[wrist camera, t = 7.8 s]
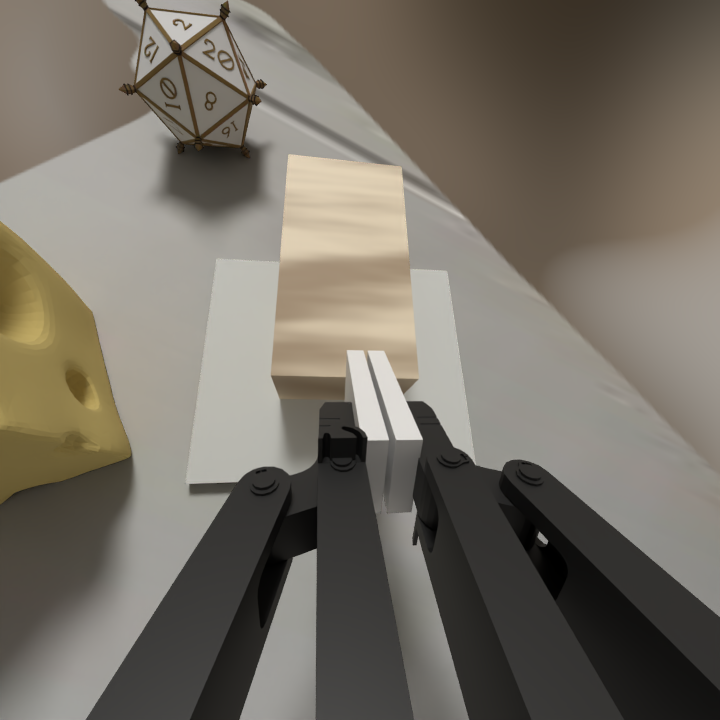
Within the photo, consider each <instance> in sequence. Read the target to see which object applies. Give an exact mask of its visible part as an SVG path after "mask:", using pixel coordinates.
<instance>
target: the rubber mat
mask: <svg viewBox="0 0 720 720" xmlns="http://www.w3.org/2000/svg"><path fill="white" fill-rule="evenodd" d="M279 265H280V262H271V261H252V260H234V259H217V260H216V267H215V274H214V281H213V288H212V295H211V303H210V310H209V317H208V324H207V331H206V338H205V346H204V353H203V360H202V367H201V374H200V381H199V389H198V396H197V403H196V410H195V417H194V424H193V431H192V439H191V446H190V453H189V460H188V467H187V474H186V482H185V484H200V483H229V482H238V481H239V480H240V479H241V478H242V477H243V476H244V475H245V474H246V473H248V472H250V471H252V470H253V469H256V468H260V467H272V466H274V467H277V468H280V469H283V470H284V471H285V472H287V473H288V474H289V475H293V474H297V473H300V472H302V471H305V470H306V469H308V468H310V467H311V466H312V465H313V464H314V463H315V461H316V460H317V457H318V437H319V409H320V408H321V407H322V406H323V404H324V403H325V402H344V400H314V399H280V398H279V396H278V393H277V391H276V388H275V385H274V383H273V380H272V378H271V364H272V352H273V339H274V327H275V315H276V302H277V290H278V277H279ZM410 275H411V287H412V299H413V311H414V323H415V335H416V347H417V359H418V371H419V379H418V380H417V381H416V382H415V383H414V384H413V385H412V386H411V387H410V388H409V389H408V390H407V391H406V392H405V393H404V394H403V395H404V397H405V400H406V401H423V402H425V403H426V404H427V405H429V406H430V407H431V408H432V409H433V411H434V412H435V414H436V416H437V418H438V420H439V421H440V423H441V425H442V427H443V429H444V430H445V432H446V434H447V436H448V438H449V439H450V441H451V443H452V445H453V447H455V448H457V449H460V450H462V451H463V452H465V453H466V454H468V455H469V457H470V458H471V459H472V460H473V462H474V464H475V465H476V462H475V456H474V449H473V442H472V435H471V429H470V422H469V415H468V408H467V402H466V395H465V388H464V381H463V375H462V368H461V361H460V354H459V348H458V341H457V334H456V327H455V321H454V314H453V307H452V300H451V294H450V287H449V280H448V273H447V271H440V270H421V269H410Z"/></svg>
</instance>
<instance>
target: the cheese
mask: <svg viewBox="0 0 720 720" xmlns="http://www.w3.org/2000/svg"><path fill="white" fill-rule="evenodd" d="M130 456H131V448H130V444H129V441H128V438H127V435H126V433H125V430H124V428H123V425H122V423H121V420H120V418H119V415H118V412H117V409H116V406H115V402H114V399H113V396H112V392H111V387H110V383H109V380H108V376H107V372H106V368H105V364H104V360H103V356H102V352H101V348H100V344H99V339H98V335H97V330H96V326H95V321H94V317H93V314H92V311H91V310H90V309H89V308H88V307H87V306H86V305H85V303H84V302H83V301H82V300H81V299H80V297H79V296H78V295H77V294H76V293H75V291H74V290H73V289H72V288H71V287H70V286H69V285H68V284H67V283H66V281H65V280H64V279H63V278H62V277H61V276H60V275H59V274H58V273H57V272H56V271H55V270H54V269H53V268H52V267H51V266H50V265H49V264H48V263H47V262H46V261H45V260H44V259H42V258H41V257H40V256H39V255H38V254H37V253H36V252H35V251H34V250H33V249H32V248H31V247H30V246H29V245H28V244H27V243H26V242H25V241H24V240H23V239H21V238H20V237H19V236H18V235H17V234H15V233H14V232H13V231H12V230H11V229H9V228H8V227H7V226H6V225H4V224H3V223H2V222H1V221H0V504H2V503H3V502H4V501H5V500H7V499H8V498H9V497H10V496H12V495H13V493H16V492H18V491H21V490H24V489H27V488H30V487H34V486H38V485H43V484H48V483H54V482H60V481H63V480H66V479H69V478H72V477H75V476H78V475H80V474H83V473H86V472H89V471H91V470H94V469H98V468H101V467H104V466H107V465H110V464H113V463H116V462H119V461H122V460H124V459H127V458H129V457H130Z"/></svg>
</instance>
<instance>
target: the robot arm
mask: <svg viewBox="0 0 720 720" xmlns="http://www.w3.org/2000/svg"><path fill="white" fill-rule="evenodd" d="M383 496H384V500H385V505H386V510H387V513H399V512H411V511H412V504H413V499H414V502H415V505H416V508H417V515H416V521H415V527H414V533H413V538H412V539H413V545H417V539H418V536H419V540H420V544H421V547H422V551H423V554H424V558H425V562H426V565H427V569H428V572H429V576H430V580H431V583H432V587H433V590H434V594H435V598H436V601H437V605H438V608H439V612H440V616H441V619H442V623H443V626H444V630H445V634H446V637H447V641H448V644H449V648H450V652H451V655H452V659H453V662H454V666H455V670H456V673H457V677H458V680H459V684H460V688H461V691H462V695H463V698H464V702H465V706H466V709H467V713H468V716H469V720H720V617H719V616H718V615H716V614H715V613H714V612H713V611H712V610H711V609H709V608H708V607H707V606H706V605H705V604H703V603H702V602H701V601H700V600H699V599H698V598H696V597H695V596H694V595H693V594H692V593H690V592H689V591H688V590H687V589H686V588H685V587H683V586H682V585H681V584H680V583H679V582H678V581H676V580H675V579H674V578H673V577H672V576H670V575H669V574H668V573H667V572H666V571H665V570H663V569H662V568H661V567H660V566H659V565H657V564H656V563H655V562H654V561H653V560H652V559H650V558H649V557H648V556H647V555H646V554H644V553H643V552H642V551H641V550H640V549H639V548H637V547H636V546H635V545H634V544H633V543H631V542H630V541H629V540H628V539H627V538H626V537H624V536H623V535H622V534H621V533H620V532H618V531H617V530H616V529H615V528H614V527H613V526H611V525H610V524H609V523H608V522H607V521H606V520H604V519H603V518H602V517H601V516H600V515H598V514H597V513H596V512H595V511H594V510H593V509H591V508H590V507H589V506H588V505H587V504H585V503H584V502H583V501H582V500H581V499H580V498H578V497H577V496H576V495H575V494H574V493H572V492H571V491H570V490H569V489H568V488H567V487H565V486H564V485H563V484H562V483H561V482H559V481H558V480H557V479H556V478H555V477H554V476H552V475H551V474H550V473H549V472H548V471H546V470H545V469H543V468H542V467H540V466H539V465H536V464H534V463H531V462H529V461H524V460H511V461H509V462H506V464H505V465H504V467H503V470H502V471H497V470H492V469H488V468H483V467H480V466H476V465H475V464H474V462H473V460H472V459H471V458H470V457H469V455H468V454H466V453H465V452H463V451H462V450H460V449H457V448H455V447H453V445H452V443H451V441H450V439H449V438H448V436H447V434H446V432H445V430H444V429H443V427H442V425H441V423H440V421H439V420H438V418H437V416H436V414H435V412H434V411H433V409H432V408H431V407H430V406H429V405H427V404H426V403H425V402H423V401H406V400H405V397H404V395H403V393H402V391H401V388H400V386H399V384H398V381H397V379H396V377H395V375H394V372H393V370H392V368H391V365H390V363H389V361H388V359H387V356H386V354H385V352H384V351H369V350H368V353H367V361H366V358H365V354H364V351H363V350H347V356H346V378H345V400H344V402H325V403H324V404H323V406H322V407H321V408H320V409H319V437H318V457H317V460H316V461H315V463H314V464H313V465H312V466H311V467H310V468H308V469H306V470H305V471H302V472H300V473H297V474H293V475H289V474H288V473H287V472H285V471H284V470H283V469H280V468H277V467H274V466H272V467H260V468H256V469H253V470H252V471H250V472H248V473H246V474H245V475H244V476H243V477H242V478H241V479H240V480H239V481H238V483H237V484H236V486H235V488H234V489H233V491H232V492H231V494H230V495H229V497H228V498H227V500H226V502H225V503H224V505H223V506H222V508H221V509H220V511H219V513H218V514H217V516H216V517H215V519H214V520H213V522H212V523H211V525H210V527H209V528H208V530H207V531H206V533H205V534H204V536H203V538H202V539H201V541H200V542H199V544H198V545H197V547H196V548H195V550H194V552H193V553H192V555H191V556H190V558H189V559H188V561H187V562H186V564H185V566H184V567H183V569H182V570H181V572H180V573H179V575H178V577H177V578H176V580H175V581H174V583H173V584H172V586H171V587H170V589H169V591H168V592H167V594H166V595H165V597H164V598H163V600H162V602H161V603H160V605H159V606H158V608H157V609H156V611H155V612H154V614H153V616H152V617H151V619H150V620H149V622H148V623H147V625H146V627H145V628H144V630H143V631H142V633H141V634H140V636H139V637H138V639H137V641H136V642H135V644H134V645H133V647H132V648H131V650H130V651H129V653H128V655H127V656H126V658H125V659H124V661H123V662H122V664H121V666H120V667H119V669H118V670H117V672H116V673H115V675H114V676H113V678H112V680H111V681H110V683H109V684H108V686H107V687H106V689H105V691H104V692H103V694H102V695H101V697H100V698H99V700H98V701H97V703H96V705H95V706H94V708H93V709H92V711H91V712H90V714H89V715H88V717H87V719H86V720H239V719H240V716H241V713H242V710H243V707H244V704H245V701H246V698H247V695H248V692H249V689H250V686H251V683H252V680H253V677H254V674H255V671H256V668H257V665H258V662H259V659H260V656H261V653H262V650H263V647H264V644H265V641H266V638H267V635H268V632H269V629H270V626H271V623H272V620H273V617H274V614H275V611H276V608H277V605H278V602H279V599H280V596H281V593H282V590H283V587H284V584H285V581H286V578H287V575H288V572H289V569H290V566H291V563H292V559H293V557H295V556H298V555H300V554H303V553H306V552H308V551H311V550H313V549H316V548H317V612H316V720H414V718H413V712H412V707H411V702H410V696H409V691H408V686H407V680H406V675H405V670H404V664H403V659H402V653H401V648H400V643H399V637H398V632H397V627H396V621H395V616H394V611H393V605H392V600H391V595H390V589H389V584H388V579H387V573H386V568H385V563H384V557H383V552H382V546H381V541H380V536H379V530H378V525H377V520H376V514H375V513H381V508H382V499H383ZM539 531H540V532H541V533H542V534H543V535H544V537H545V538H546V539H547V540H548V544H547V545H546V544H544V543H543V542H542V541H540V540H539V539H538V537H537V536H538V534H539Z"/></svg>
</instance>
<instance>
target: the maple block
mask: <svg viewBox="0 0 720 720" xmlns="http://www.w3.org/2000/svg"><path fill="white" fill-rule="evenodd" d="M347 350H363V351H364V354H365V358H366V361H367V353H368V350H369V351H384V352H385V354H386V356H387V359H388V361H389V363H390V365H391V368H392V370H393V372H394V375H395V377H396V379H397V381H398V384H399V386H400V388H401V391H402V393H403V394H404V393H405V392H406V391H407V390H408V389H409V388H410V387H411V386H412V385H413V384H414V383H415V382H416V381H417V380H418V379H419V371H418V359H417V347H416V335H415V323H414V311H413V299H412V287H411V275H410V263H409V251H408V239H407V227H406V215H405V203H404V191H403V179H402V167H401V166H391V165H382V164H373V163H364V162H354V161H345V160H336V159H327V158H317V157H308V156H299V155H290V154H288V166H287V178H286V191H285V203H284V215H283V228H282V240H281V253H280V265H279V277H278V290H277V302H276V315H275V327H274V339H273V352H272V364H271V378H272V380H273V383H274V385H275V388H276V391H277V393H278V396H279V398H280V399H314V400H345V378H346V356H347Z"/></svg>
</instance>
